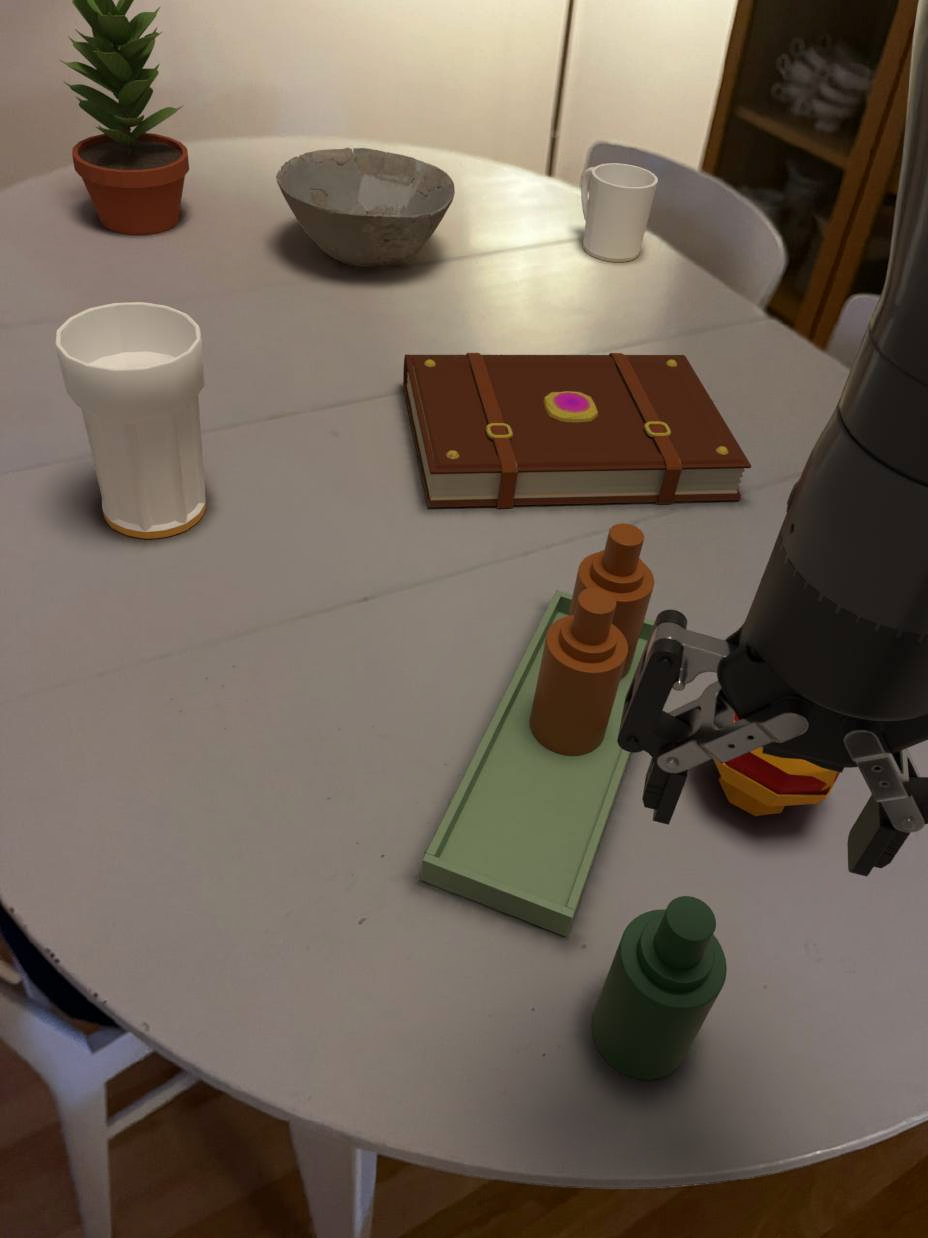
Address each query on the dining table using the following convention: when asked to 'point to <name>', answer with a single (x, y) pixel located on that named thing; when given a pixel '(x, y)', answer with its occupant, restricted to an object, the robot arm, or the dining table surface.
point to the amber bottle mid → (579, 676)
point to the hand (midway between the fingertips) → (758, 832)
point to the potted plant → (125, 125)
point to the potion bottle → (773, 782)
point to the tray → (530, 805)
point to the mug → (616, 210)
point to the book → (567, 430)
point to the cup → (139, 412)
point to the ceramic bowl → (366, 203)
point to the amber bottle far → (620, 582)
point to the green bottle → (659, 989)
